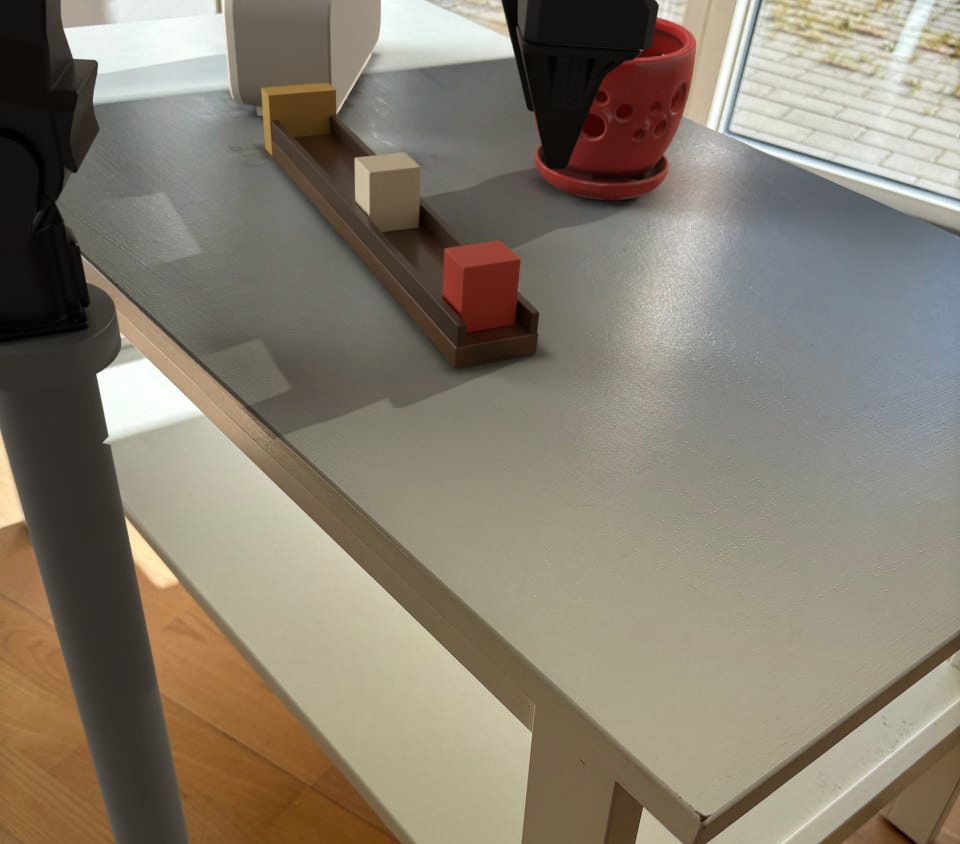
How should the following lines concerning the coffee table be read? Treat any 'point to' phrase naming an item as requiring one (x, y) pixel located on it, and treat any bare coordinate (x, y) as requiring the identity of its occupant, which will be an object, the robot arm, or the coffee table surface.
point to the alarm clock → (297, 44)
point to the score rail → (397, 247)
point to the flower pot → (631, 122)
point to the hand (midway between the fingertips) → (545, 137)
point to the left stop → (298, 109)
